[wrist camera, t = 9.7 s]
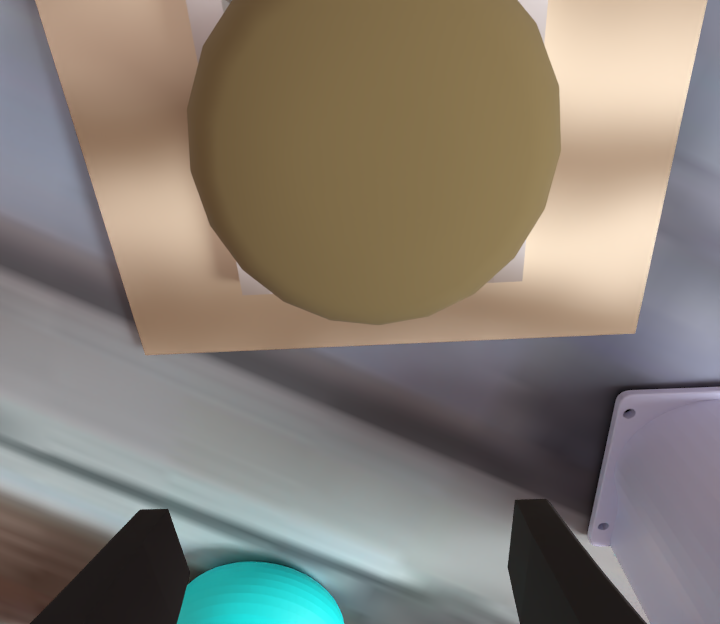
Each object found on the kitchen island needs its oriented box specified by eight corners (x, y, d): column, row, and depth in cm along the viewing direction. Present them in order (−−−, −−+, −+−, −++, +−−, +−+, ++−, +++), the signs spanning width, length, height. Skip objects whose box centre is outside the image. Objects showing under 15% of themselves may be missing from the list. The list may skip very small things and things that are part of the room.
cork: (243, 102, 15) (-4, 131, 5) (389, -43, 13) (436, -413, 3) (360, 242, 17) (341, 454, 7) (501, 131, 15) (735, 212, 5)
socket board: (627, 326, 19) (651, 348, 17) (151, 347, 20) (131, 370, 18) (740, -220, 12) (797, -268, 10) (3, -143, 13) (-49, -176, 11)
